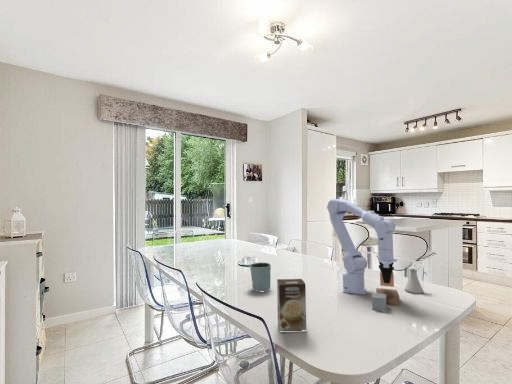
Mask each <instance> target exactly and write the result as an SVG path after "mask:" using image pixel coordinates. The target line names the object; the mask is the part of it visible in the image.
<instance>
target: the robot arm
mask: <svg viewBox="0 0 512 384" xmlns="http://www.w3.org/2000/svg"><path fill="white" fill-rule="evenodd" d="M326 209H327V210H328V213H329V220H330V223H331V225H332V227H333V229H334V232H335V235H336V237H337V239H338V241H339V244H340V245H341V246H340V247H341V248H342V251H343V253H344V254H343V256H342V261H343V267H344V269H345V270H343V272H342V290H343V291H342V293H346V294H354V295H356V294H357V295H366V292H367V288H366V287H365V286H366V284H365V271H366V269H367V267H368V262H367V261H368V260H367V259H366V258H365V257H364V256H363V254H362V252H360V251H359V250H357V249H356V246H355V244H354V242H353V240H352V237H351V235H350V233H349V231H348V229H347V227H346V224H345V222H344V220H343V219H344V217H345V216H346V214H347V213H348V212H349V213H352V214H353V215H356V216H357V217H359V218H361V220H362V221H361V222H363V223H365V224H366V225H368V226H369V227H372V228H373V229H374V231H375V232H376V237H377V249H378V250H377V253H378V255H377V256H378V258H377V260H378V263H379V264H378V269H379V270H381V273H382V276H383V281H384V283H390V280H391V274H392V271H393V272H394V269H395V266H394V263H397V262H398V261H397V259H396V258H394V240H393V239H394V238H393V235H394V234H393V232H394V231H395V230H396V229H395V228H396V224H395V222H394V221H393V220H391V218H386V219H385V216H382V215H378V214H377V213H376V212H375V211H374V210H367V211H366V210H365V209H363V208H362V207H360V206H358V205H357V204H355V203H353V202H352V200H349V199H348V198H345V197H344V198H337V199H336V198H335V199H334V198H331V199H329V201H328V203H327V205H326Z"/></svg>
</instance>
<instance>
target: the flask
mask: <svg viewBox="0 0 512 384" xmlns="http://www.w3.org/2000/svg"><path fill="white" fill-rule="evenodd" d="M408 271H409V277H408V280H407V283H406V285H405V288H404V291H405V292H407V293H411V294H413V295H414V294H415V295H417V294H422V293H424V292H425V291H424V289H423V287H422V284H421V282H420V280H419V277H418V274H417V273H418V269H416V268H408Z"/></svg>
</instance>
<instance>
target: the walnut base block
mask: <svg viewBox="0 0 512 384" xmlns="http://www.w3.org/2000/svg"><path fill="white" fill-rule="evenodd" d="M375 290H376V292H375V293H379V294H386V306H387V305H389V306H399V307H400V305H401V304H400V302H401V301H400V294H399V292H398V289H392V288H390V289H389V288H378V287H376V289H375Z"/></svg>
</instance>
